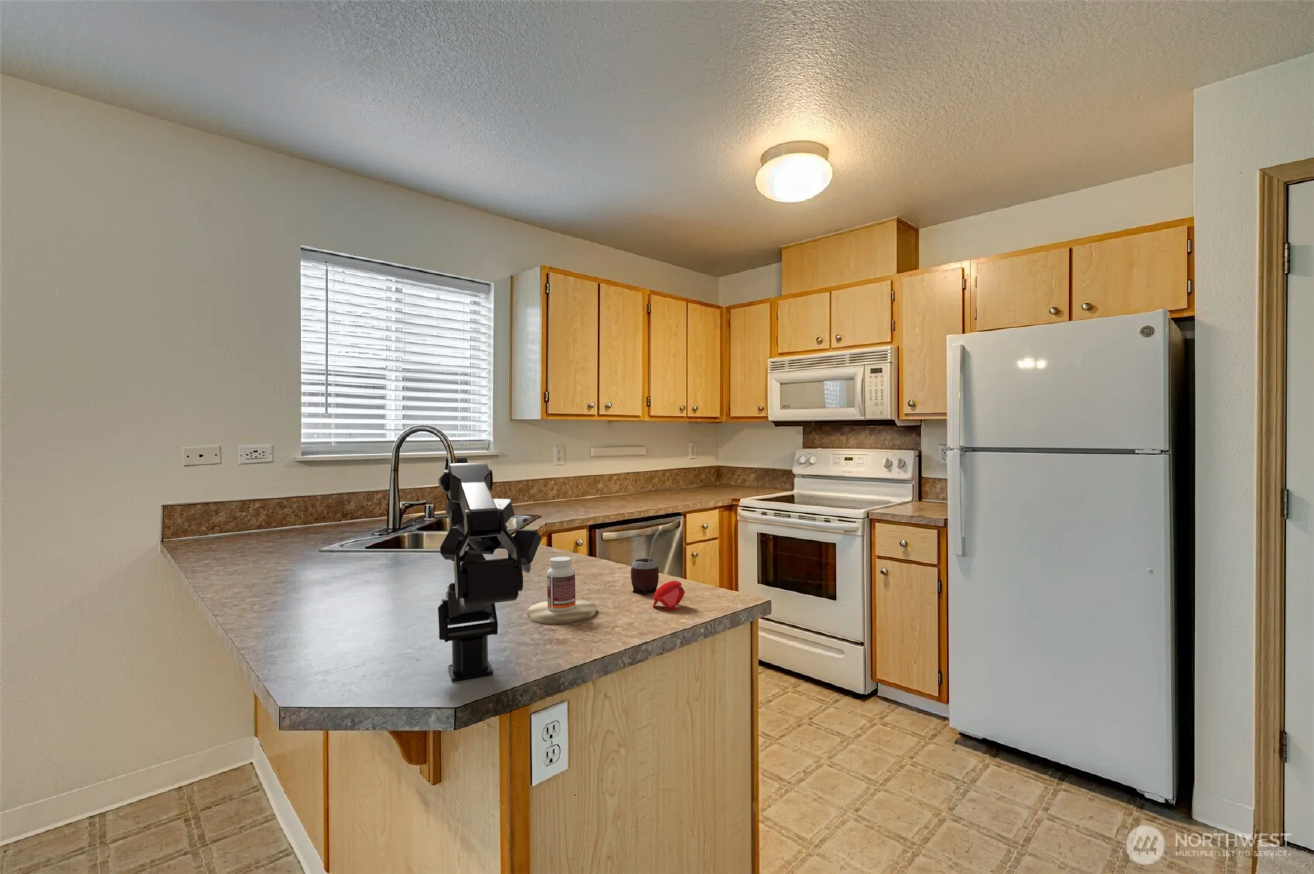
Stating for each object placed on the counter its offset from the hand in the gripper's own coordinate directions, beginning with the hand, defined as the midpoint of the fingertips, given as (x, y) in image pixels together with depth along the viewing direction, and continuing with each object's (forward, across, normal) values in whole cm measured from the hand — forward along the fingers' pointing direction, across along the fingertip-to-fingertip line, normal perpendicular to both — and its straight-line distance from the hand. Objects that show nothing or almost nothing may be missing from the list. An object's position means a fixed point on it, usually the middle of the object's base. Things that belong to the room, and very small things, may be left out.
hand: (508, 569), depth 115 cm
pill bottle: (+22, -2, -4) cm, 22 cm away
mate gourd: (+38, -14, -19) cm, 45 cm away
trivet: (+23, -2, -3) cm, 23 cm away
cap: (+30, -24, -11) cm, 40 cm away
